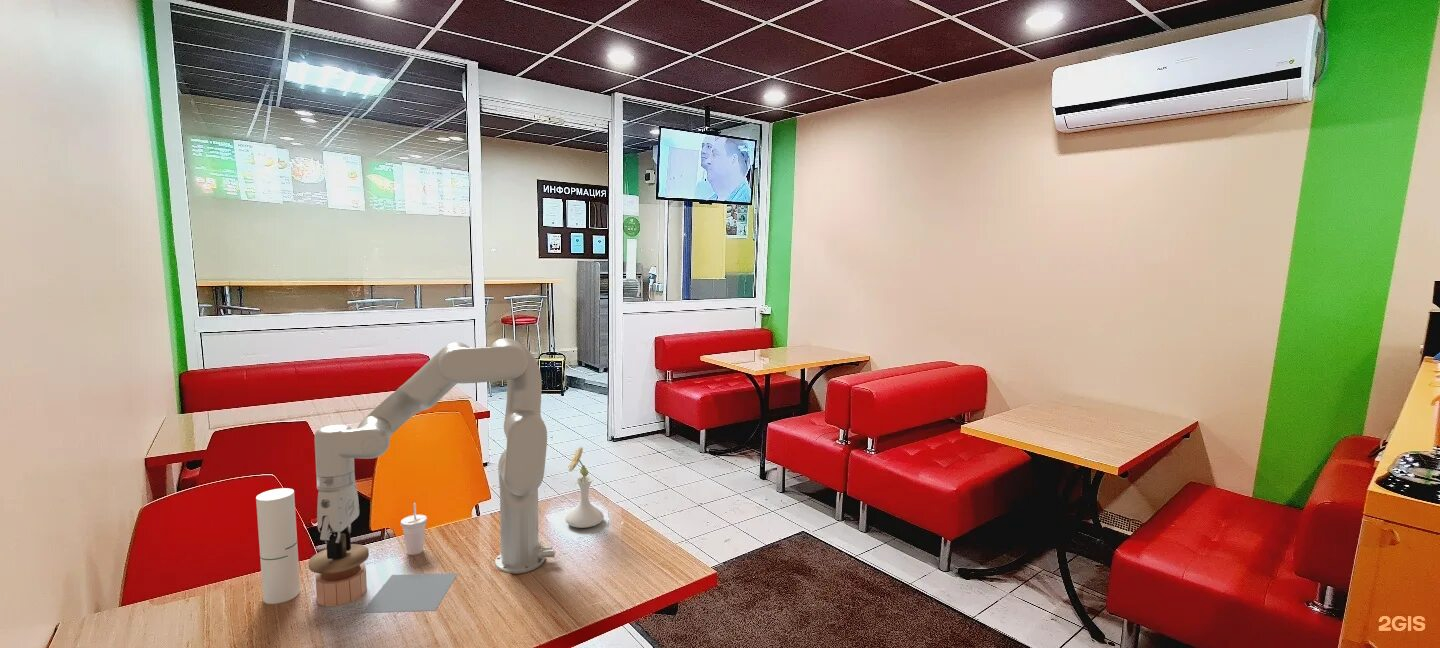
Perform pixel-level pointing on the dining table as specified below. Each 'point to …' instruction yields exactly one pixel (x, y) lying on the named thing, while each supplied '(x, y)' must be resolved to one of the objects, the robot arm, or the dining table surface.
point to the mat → (411, 593)
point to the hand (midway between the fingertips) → (339, 553)
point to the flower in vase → (583, 499)
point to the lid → (348, 561)
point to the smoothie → (414, 532)
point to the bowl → (341, 586)
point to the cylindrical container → (278, 545)
